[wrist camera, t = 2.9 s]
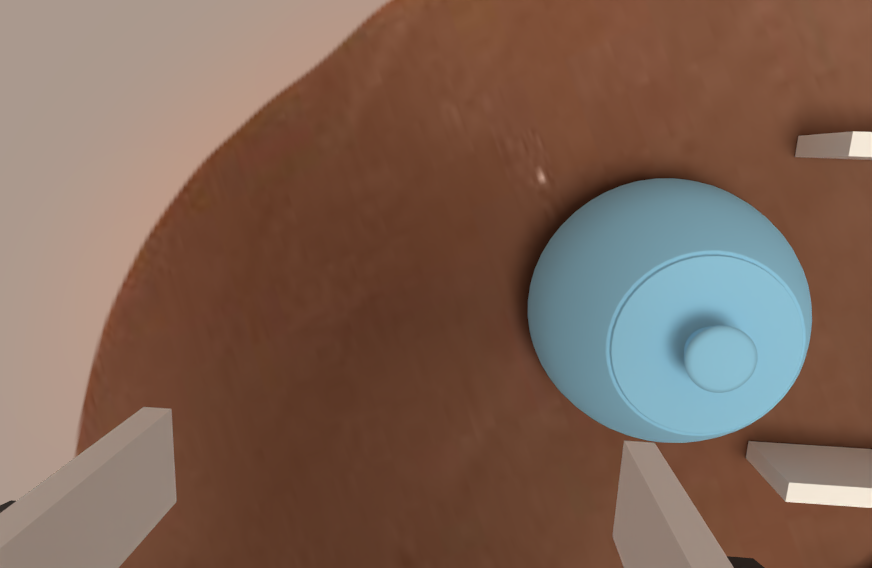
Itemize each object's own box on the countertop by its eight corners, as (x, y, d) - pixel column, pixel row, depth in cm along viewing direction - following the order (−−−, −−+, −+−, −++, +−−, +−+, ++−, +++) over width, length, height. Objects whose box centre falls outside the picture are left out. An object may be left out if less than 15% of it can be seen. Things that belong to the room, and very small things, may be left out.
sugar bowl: (644, 124, 34) (727, 106, 23) (823, 288, 35) (987, 347, 24) (476, 310, 37) (477, 374, 26) (647, 455, 38) (719, 577, 27)
